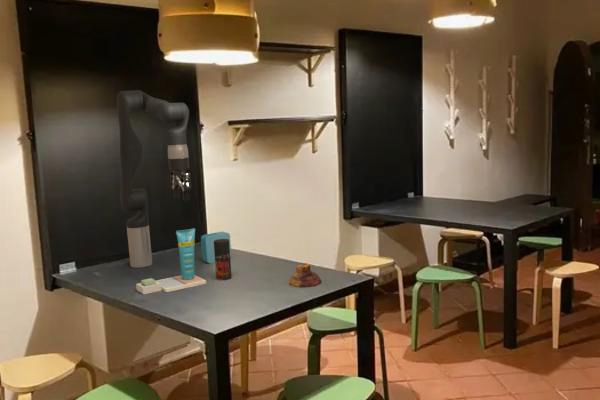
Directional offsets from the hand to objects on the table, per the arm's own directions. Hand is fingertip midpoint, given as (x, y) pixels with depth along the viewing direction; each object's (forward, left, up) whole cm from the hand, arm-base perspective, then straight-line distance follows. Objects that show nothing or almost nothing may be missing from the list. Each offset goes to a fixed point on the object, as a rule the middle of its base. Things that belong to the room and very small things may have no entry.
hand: (181, 199), depth 239 cm
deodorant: (+5, +13, -32) cm, 35 cm away
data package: (-23, +24, -32) cm, 46 cm away
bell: (+33, +32, -32) cm, 56 cm away
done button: (0, -16, -31) cm, 34 cm away
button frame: (0, -16, -32) cm, 36 cm away
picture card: (0, -4, -32) cm, 32 cm away
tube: (0, 0, -31) cm, 31 cm away
